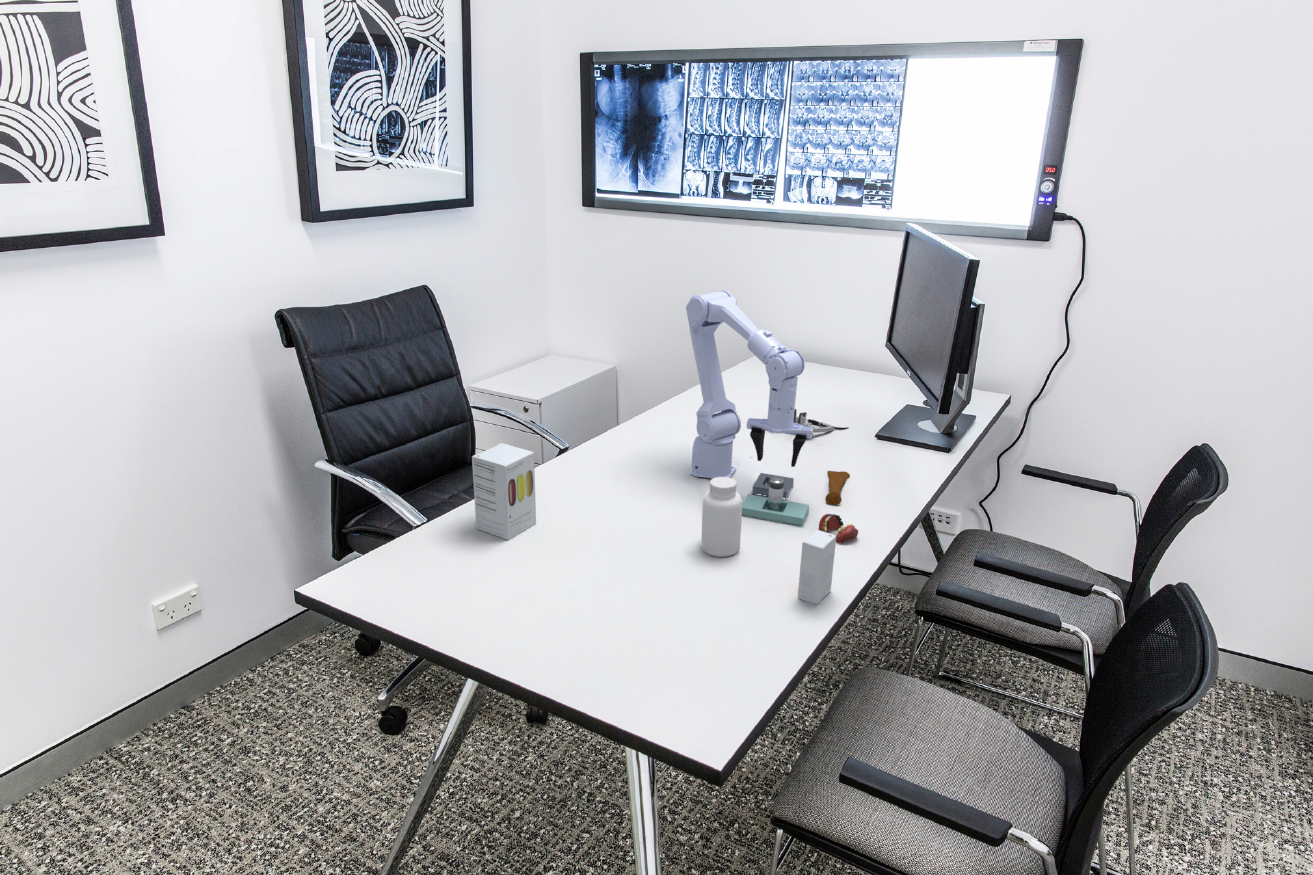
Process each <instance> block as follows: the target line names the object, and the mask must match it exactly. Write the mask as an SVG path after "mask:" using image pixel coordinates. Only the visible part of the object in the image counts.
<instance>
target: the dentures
mask: <svg viewBox="0 0 1313 875" xmlns="http://www.w3.org/2000/svg"><path fill="white" fill-rule="evenodd" d="M842 519H843V518H841V515H839V514H834V513H833V514H832V513H826V514H824V515H822V516H821V518H820V520H819V523H818V530H820V531H823V532H826V533H829V532H830V531H833V530H836V531H835V532H834V534H833V535H835V536H836V544H838V543H839V544H842V543H845V542H847V541H849V539H850V540H852V539H855V538H857V537H858V535H859V529H857V528H856V527H855V525H853V524H852V522H850V523H849V522H848V523H846V524H844V521H843V520H842ZM829 530H830V531H829ZM844 541H845V542H844Z"/></svg>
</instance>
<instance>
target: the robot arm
mask: <svg viewBox="0 0 1313 875" xmlns="http://www.w3.org/2000/svg"><path fill="white" fill-rule="evenodd" d="M737 300H738V299H737V298H736V297H734V296H733V295H732V294H731V292H729V291H728V290H725V289H723V290H719V291H715V292H709V293H704V294H695V295H693V296H691V297H690V299H689V300H688V302H687V304H686V306H685V310H686V315H687V320H688V326H689V334H690V339H691V344H692V350H693V354H694V360H695V365H696V370H697V375H698V381H699V385H700V389H701V390H700V391H701V395H702V396H701V397H702V401H703V403H702V404H701V406H700V407H699V408H698V410H697V411H696V413H695V414H696V420H697V421H696V432H697V436H695V438H694V441H693V444H692V450H691V451H692V452H691V472H690V475H691V476H694V477H699V478H700V477H701V478H704V479H705V478H706V479H710V480H712V479H713V478H716V477H728V478H731V477H732V476H733V474H734V472H735V471H737V470H736V469H737V468H736V466H733V465H732V463H733V449H734V448H733V447H734V440H735V439H736V434H739V432H740V431H741V428H742V421H741V417H740V415H739V414H738V412H737V408H736V404H735V403H733V402H732V401H731V400H729V399H728V398H727V396H726V390H725V386H724V382H723V376H722V371H721V365H720V358H719V354H718V350H717V344H716V339H715V332H716V331H717V330H718V328H719V326H720V325H722V324H723V323H725V324H726V325H728V326H729V327H730V328H731V329H732V330H734V331H735V332H736V333H737V334H738V335H740V336H741V337H742V338H743V339H744V340H746V341H747V349H748V350H749V351H750V352H751V353H752V354H753V355H754V356H755V357H756V358H757V359H758V360H759V361H760V362H761V363H762V364H764V366H765V372H766V374H767V377H768V385H769V395H768V407H767V408H768V409H767V418H753V417H749V418H748V419H747V420H746V429H747V430H750V432H749V437H750V439H751V441H752V442H753V444H754V445H753V446H754V448H755V451H756V457H757V458H756V459H757V462H761V461H762V460H763V458H764V443H765V435H766V431H767V432H770V433H772V434H779V435H780V434H785V435H791V436H795V437H794V438H793V440H792V456H791V462H790V464H791V466H790V467H792V468H794V467H796V464H797V461H798V458H799V455H800V452H801V450H802V448H803V447H804V444H805V443H806V441H807V440H808V439H810V440H811V439H812V438H813V436H814V435H813V434H814V433H813V428H811V427H807V426H803V425H800V424H798V422H795V423H794V422H793V421H794V410H795V409H796V398H797V388H798V376H800V375H802V374H803V372H804V370H805V360H804V358H803V356H802V354H801V353H800V352H799V350H797V349H791V348H789V347H786V346H785V345H784V344H782V343H781V342H780V341H779V340H778V339H777V338H776V337H774V335H773V332H771V331H770V330H767V329H765V328H763V329H762V328H761V329H759V328H758V327H757V326H756V325H755V323H753V322H752V320H750V318H749V317H748V316H747V315H746V314H745V313H744V312H743V311H742V309H741V308H740V307H739V306H738V301H737Z"/></svg>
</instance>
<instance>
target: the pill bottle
mask: <svg viewBox="0 0 1313 875" xmlns="http://www.w3.org/2000/svg"><path fill="white" fill-rule="evenodd" d="M737 486H738V483H737V481H736V480H735V479H733V478H731V477H730V478H728V477H716V478H713V479H710V481H709V490H708V491H707V492H706V493H705V494H704V495H703V498H702V511H701V512H702V513H701V549H702V550H703V551H704V553H707V554H708V555H710V556H713V557H720V558H721V557H724V558H725V557H730V556H731V557H732V556H733V555H735V554H738V552H739V551H740V549H741V548H740V547H741V536H742V535H741V533H742V519H743V518H742V517H743V516H742V503H743V498H742V496H741V495H740V494H739V493H738V492H737Z"/></svg>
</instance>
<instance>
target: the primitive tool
mask: <svg viewBox="0 0 1313 875" xmlns="http://www.w3.org/2000/svg"><path fill="white" fill-rule="evenodd" d="M826 473H827V478H828V488H829V489H828V493H827V494H826V496H825V497H824V498H825V503H826V504H827V505H829V506H839V505H841V503H842V496H841V491H842V489H843V487H844V486H845V484H846V481H847V480H848V479H850V475H851V474H850V473H849V472H847V471H845V470H843V471H836V470H827V472H826Z"/></svg>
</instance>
